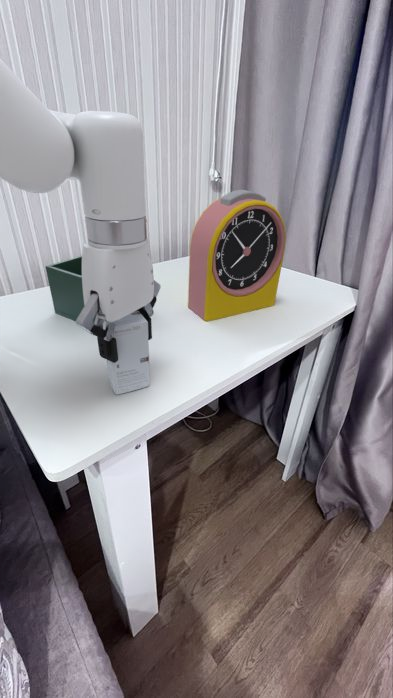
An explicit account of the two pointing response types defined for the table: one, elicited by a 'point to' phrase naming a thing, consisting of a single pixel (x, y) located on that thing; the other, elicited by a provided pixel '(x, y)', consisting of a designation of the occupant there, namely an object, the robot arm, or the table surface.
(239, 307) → the alarm clock
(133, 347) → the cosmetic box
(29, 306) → the table surface
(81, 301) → the bin
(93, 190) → the robot arm
